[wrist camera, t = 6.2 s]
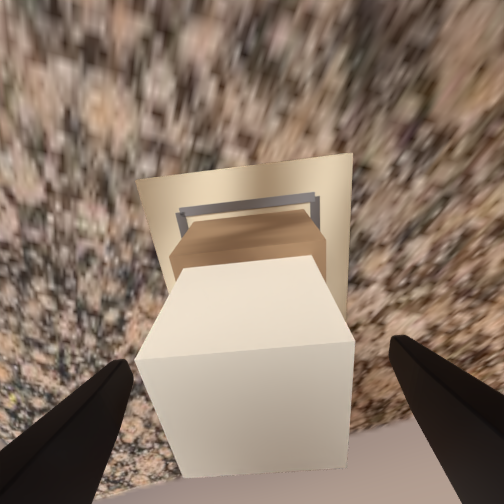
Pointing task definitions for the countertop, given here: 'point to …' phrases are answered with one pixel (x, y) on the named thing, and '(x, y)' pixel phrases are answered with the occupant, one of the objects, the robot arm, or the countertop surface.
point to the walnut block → (250, 240)
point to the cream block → (251, 369)
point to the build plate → (256, 205)
